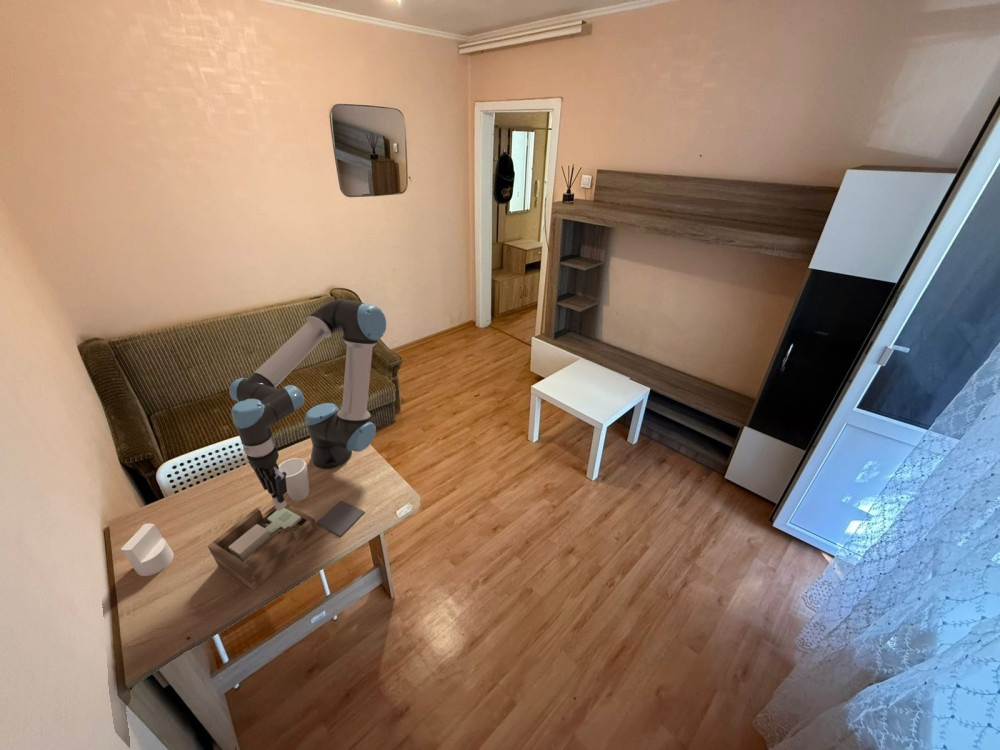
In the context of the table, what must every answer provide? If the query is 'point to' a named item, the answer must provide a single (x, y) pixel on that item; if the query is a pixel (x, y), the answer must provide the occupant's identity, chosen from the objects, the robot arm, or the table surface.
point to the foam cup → (296, 478)
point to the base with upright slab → (148, 551)
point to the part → (249, 542)
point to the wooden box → (269, 554)
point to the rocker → (279, 522)
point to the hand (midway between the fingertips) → (281, 507)
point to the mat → (340, 518)
